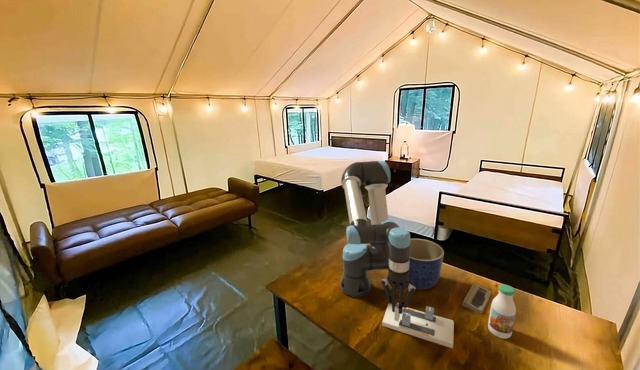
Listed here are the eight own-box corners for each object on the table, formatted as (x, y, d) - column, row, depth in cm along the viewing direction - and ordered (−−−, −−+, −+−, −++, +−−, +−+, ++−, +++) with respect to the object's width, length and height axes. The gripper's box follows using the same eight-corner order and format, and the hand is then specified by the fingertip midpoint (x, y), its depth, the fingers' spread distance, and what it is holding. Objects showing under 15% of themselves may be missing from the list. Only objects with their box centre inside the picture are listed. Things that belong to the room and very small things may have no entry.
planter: (439, 273, 138) (441, 240, 132) (442, 299, 119) (446, 263, 114) (398, 267, 145) (399, 236, 139) (396, 291, 126) (397, 257, 121)
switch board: (382, 325, 107) (382, 321, 106) (388, 306, 117) (388, 301, 117) (452, 348, 96) (453, 343, 95) (453, 324, 106) (453, 320, 105)
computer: (482, 315, 110) (483, 309, 109) (461, 306, 115) (462, 300, 115) (491, 295, 121) (492, 289, 120) (472, 288, 126) (472, 282, 125)
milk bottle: (483, 324, 105) (489, 282, 99) (501, 322, 106) (508, 280, 100) (497, 340, 98) (505, 296, 92) (516, 338, 98) (525, 293, 92)
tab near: (401, 324, 104) (402, 315, 103) (402, 319, 106) (403, 311, 105) (409, 326, 103) (410, 318, 102) (410, 322, 105) (411, 313, 104)
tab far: (425, 318, 106) (425, 309, 105) (425, 313, 109) (426, 305, 107) (432, 320, 105) (433, 311, 104) (433, 316, 107) (434, 307, 106)
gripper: (379, 269, 99) (378, 320, 105) (415, 277, 93) (412, 330, 99) (384, 259, 105) (383, 307, 112) (418, 266, 99) (415, 317, 106)
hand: (397, 318), depth 105 cm, fingers closed
